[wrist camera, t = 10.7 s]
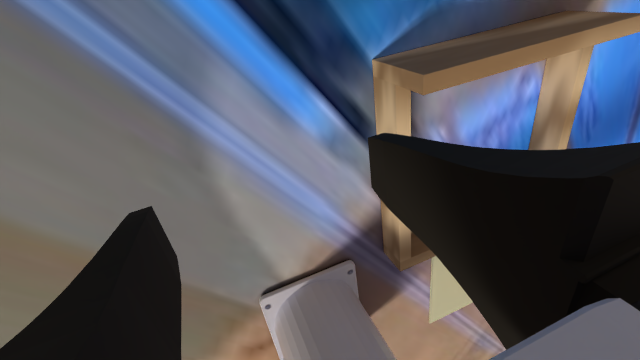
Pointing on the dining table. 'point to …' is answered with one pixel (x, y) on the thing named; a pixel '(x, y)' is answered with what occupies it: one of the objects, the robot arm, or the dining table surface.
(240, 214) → the dining table surface
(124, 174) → the dining table surface
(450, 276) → the potting mat
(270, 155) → the dining table surface
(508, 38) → the cold frame
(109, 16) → the dining table surface
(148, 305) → the robot arm
